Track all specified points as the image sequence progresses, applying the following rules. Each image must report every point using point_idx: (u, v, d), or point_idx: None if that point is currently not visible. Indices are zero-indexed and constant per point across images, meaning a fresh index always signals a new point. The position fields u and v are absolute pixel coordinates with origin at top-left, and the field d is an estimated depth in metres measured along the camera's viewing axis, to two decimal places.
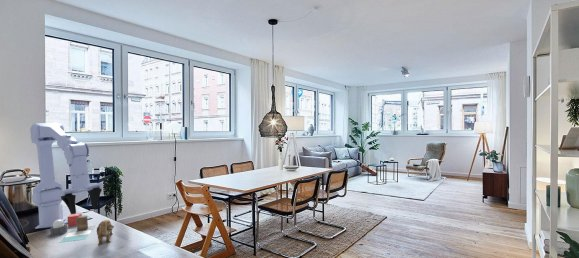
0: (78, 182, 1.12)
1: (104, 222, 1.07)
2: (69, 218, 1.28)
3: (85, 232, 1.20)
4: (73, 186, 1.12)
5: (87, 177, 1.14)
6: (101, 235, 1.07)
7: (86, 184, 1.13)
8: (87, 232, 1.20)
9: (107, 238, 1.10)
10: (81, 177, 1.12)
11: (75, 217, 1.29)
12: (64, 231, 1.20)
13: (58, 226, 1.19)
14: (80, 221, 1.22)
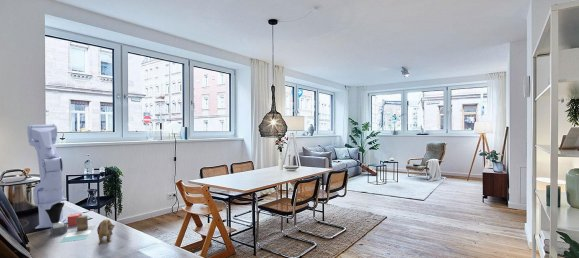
0: (57, 195, 1.18)
1: (105, 221, 1.07)
2: (69, 218, 1.28)
3: (85, 232, 1.20)
4: (51, 199, 1.17)
5: (62, 190, 1.21)
6: (102, 234, 1.08)
7: (62, 197, 1.21)
8: (87, 232, 1.20)
9: (108, 237, 1.11)
10: (60, 190, 1.19)
11: (75, 217, 1.29)
12: (64, 231, 1.20)
13: None
14: (80, 221, 1.22)
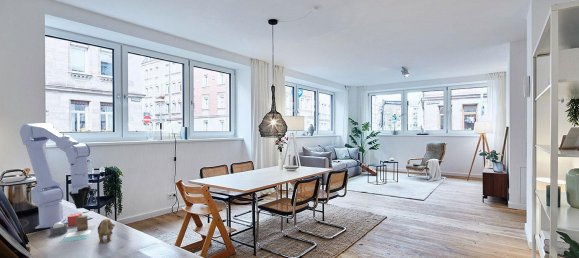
0: (84, 180, 1.22)
1: (105, 221, 1.08)
2: (69, 218, 1.28)
3: (85, 232, 1.20)
4: (78, 184, 1.21)
5: None
6: (102, 234, 1.08)
7: None
8: (87, 232, 1.20)
9: (108, 237, 1.11)
10: (86, 175, 1.23)
11: (75, 217, 1.29)
12: (64, 231, 1.20)
13: None
14: (80, 221, 1.22)
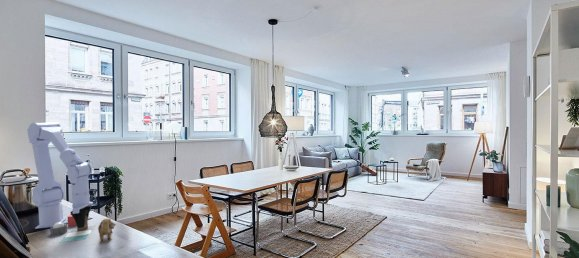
0: (85, 199, 1.22)
1: (106, 220, 1.09)
2: (69, 218, 1.28)
3: (85, 232, 1.20)
4: (79, 203, 1.21)
5: None
6: (103, 233, 1.09)
7: (89, 201, 1.25)
8: (87, 232, 1.20)
9: (108, 236, 1.12)
10: (87, 195, 1.23)
11: None
12: (64, 231, 1.20)
13: None
14: None
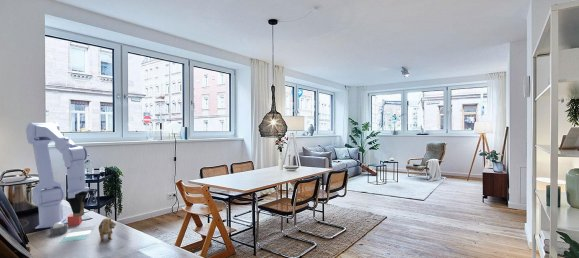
0: (81, 184, 1.18)
1: (106, 220, 1.09)
2: (69, 218, 1.28)
3: (85, 232, 1.20)
4: (75, 188, 1.16)
5: None
6: (103, 233, 1.09)
7: (85, 186, 1.20)
8: (87, 232, 1.20)
9: (109, 236, 1.12)
10: (83, 179, 1.19)
11: (75, 217, 1.29)
12: (64, 231, 1.20)
13: None
14: None
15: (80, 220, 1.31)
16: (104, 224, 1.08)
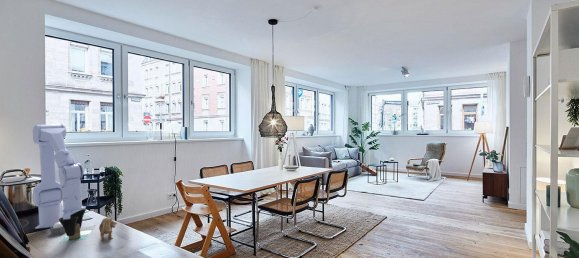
0: (77, 204, 1.13)
1: (107, 219, 1.10)
2: None
3: (85, 232, 1.20)
4: (71, 208, 1.11)
5: None
6: (104, 232, 1.10)
7: (81, 205, 1.15)
8: (87, 232, 1.20)
9: (109, 235, 1.13)
10: (79, 198, 1.14)
11: None
12: (64, 231, 1.20)
13: None
14: None
15: None
16: (105, 223, 1.09)
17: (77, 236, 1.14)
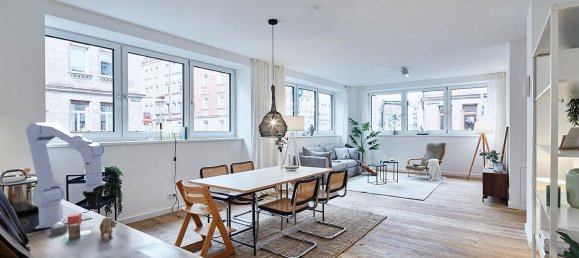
0: (98, 179, 1.23)
1: (108, 219, 1.10)
2: (69, 218, 1.28)
3: (85, 232, 1.20)
4: (93, 183, 1.22)
5: None
6: (105, 231, 1.10)
7: None
8: (87, 232, 1.20)
9: (110, 235, 1.13)
10: (100, 174, 1.25)
11: (75, 217, 1.29)
12: (64, 231, 1.20)
13: None
14: (71, 230, 1.13)
15: (80, 220, 1.31)
16: (105, 223, 1.09)
17: (77, 236, 1.14)
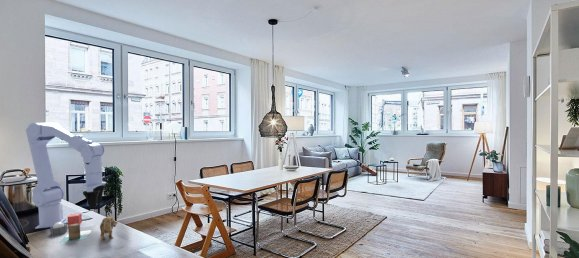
0: (98, 179, 1.23)
1: (108, 218, 1.10)
2: (69, 218, 1.28)
3: (85, 232, 1.20)
4: (93, 183, 1.22)
5: None
6: (105, 231, 1.10)
7: None
8: (87, 232, 1.20)
9: (110, 234, 1.14)
10: (100, 174, 1.25)
11: (75, 217, 1.29)
12: (64, 231, 1.20)
13: None
14: (71, 230, 1.13)
15: (80, 220, 1.31)
16: (106, 223, 1.10)
17: (77, 236, 1.14)
